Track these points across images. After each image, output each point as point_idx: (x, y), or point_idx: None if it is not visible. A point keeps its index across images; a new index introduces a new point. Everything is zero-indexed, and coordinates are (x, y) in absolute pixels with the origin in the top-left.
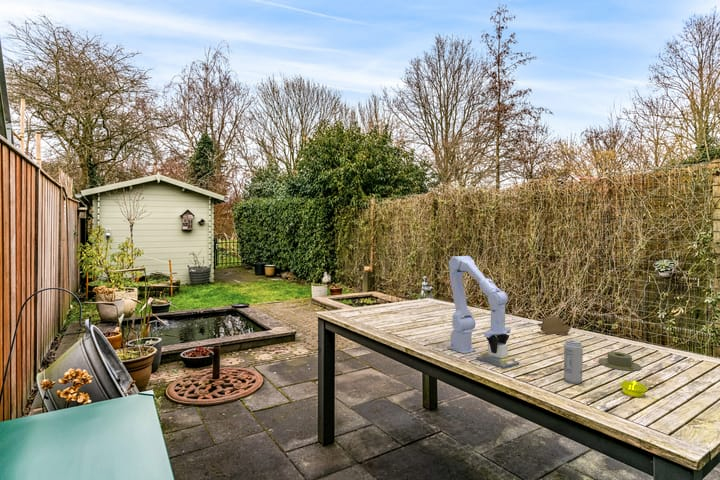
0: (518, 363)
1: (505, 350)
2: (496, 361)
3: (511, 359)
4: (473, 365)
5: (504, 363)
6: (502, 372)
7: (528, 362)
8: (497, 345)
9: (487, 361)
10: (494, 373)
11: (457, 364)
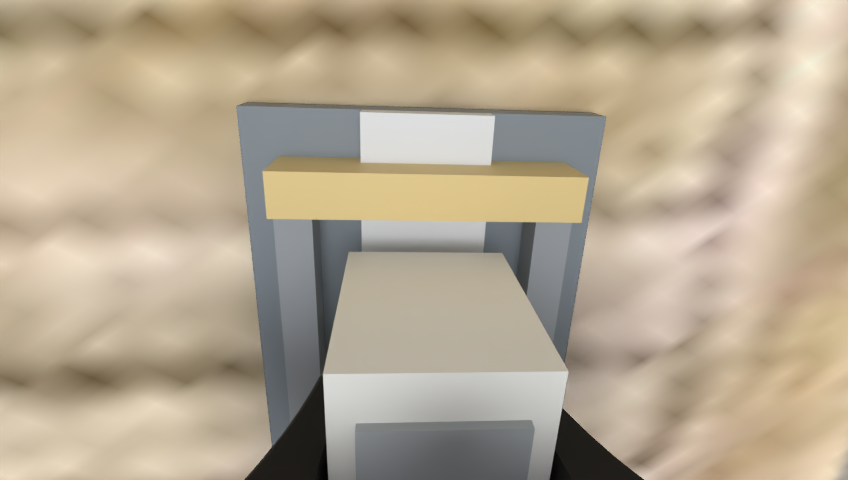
0: (256, 104)
1: (410, 309)
2: (557, 265)
3: (357, 169)
4: (732, 368)
5: (524, 165)
6: (727, 33)
7: (21, 83)
8: (552, 461)
9: (561, 355)
10: (833, 71)
11: (812, 453)
